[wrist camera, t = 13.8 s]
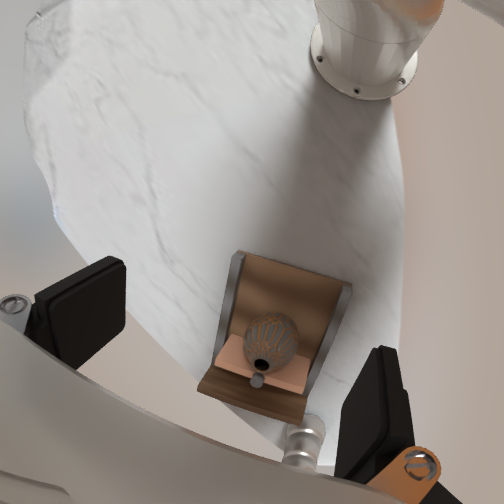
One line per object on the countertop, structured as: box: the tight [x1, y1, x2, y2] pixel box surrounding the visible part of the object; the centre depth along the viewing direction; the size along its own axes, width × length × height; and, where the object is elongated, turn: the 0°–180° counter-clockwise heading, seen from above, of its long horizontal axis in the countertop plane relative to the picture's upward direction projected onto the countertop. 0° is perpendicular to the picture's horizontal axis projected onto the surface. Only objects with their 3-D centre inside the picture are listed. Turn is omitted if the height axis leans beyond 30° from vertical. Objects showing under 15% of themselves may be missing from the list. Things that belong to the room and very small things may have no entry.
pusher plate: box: [215, 334, 311, 394], centre depth 40 cm, size 2×12×8 cm, turn 77°
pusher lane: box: [197, 250, 352, 426], centre depth 39 cm, size 19×15×8 cm
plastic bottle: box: [281, 414, 326, 472], centre depth 38 cm, size 6×7×20 cm
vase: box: [243, 312, 299, 373], centre depth 38 cm, size 7×7×9 cm
